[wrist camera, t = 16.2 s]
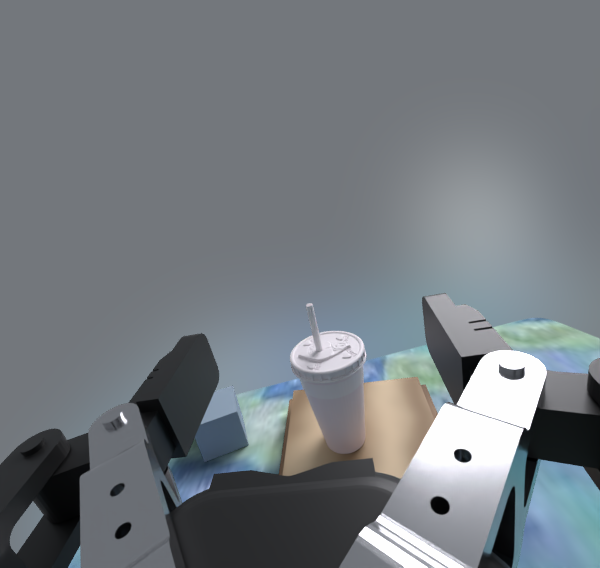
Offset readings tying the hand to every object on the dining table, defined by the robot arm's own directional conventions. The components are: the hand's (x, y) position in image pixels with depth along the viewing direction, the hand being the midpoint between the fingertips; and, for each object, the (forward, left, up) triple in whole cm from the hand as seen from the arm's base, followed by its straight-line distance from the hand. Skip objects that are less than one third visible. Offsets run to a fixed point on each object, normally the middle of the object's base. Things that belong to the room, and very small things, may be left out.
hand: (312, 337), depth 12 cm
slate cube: (+16, -19, -23) cm, 34 cm away
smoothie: (+1, -14, -19) cm, 24 cm away
